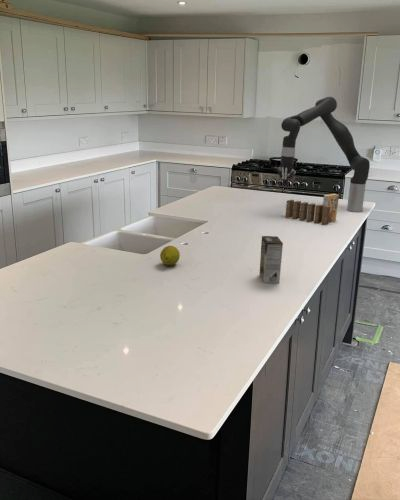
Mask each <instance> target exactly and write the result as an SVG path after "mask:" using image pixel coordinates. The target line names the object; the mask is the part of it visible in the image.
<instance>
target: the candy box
mask: <svg viewBox="0 0 400 500" xmlns="http://www.w3.org/2000/svg"><path fill="white" fill-rule="evenodd" d="M339 198H340V195H339V194H336V193H330V194H329V193H328V194H324V195H323V201H322V205H323V207H325V206H331V207H330V216H329V223H331V222H336V221H337V214H338V207H339ZM322 215H323V210H322ZM321 223H322V220H321Z"/></svg>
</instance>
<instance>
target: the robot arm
mask: <svg viewBox="0 0 400 500" xmlns="http://www.w3.org/2000/svg"><path fill="white" fill-rule="evenodd" d="M337 108H338V103H337V99H335V98H334V97H333V96H326V97H324V98H322V99H319V100H316V102H315V105H314V106H313V107H310V108H307V109H306V110H304V111H301V112H299V113H298V114H295V115H291V116H289V117H286V118H284V119H283V120H282V121H281V124H280V125H281V129H282V130H283V131H284V132H288V133H289V134H288V135H285V136H284V137H283V139H282V147H281V152H280V153H281V154H280V165H279V167H277V168H276V172H277V174H278V175H279V176H278V177H279V178H280V179H281V180H282V183H281V185H282V187H287V186H288V185H289V183H288V182H289V180H290V179H292V178H293V177H294V176H295V175H296V173H297V170H295V169H294V164H295V156H296V141H297V138H298V136H299V133H300V130H301V127H303V126H306V125H307V124H309V123H310V122H313V121H315V119H317V118H319V117H320V118H321V120H322V121H323V122H324V124H325V125H326V127H327V128H328V130H329V131H330V133H331V134H332V136H333V138H334V140H335V142H336V143H337V145H338V146H339V148H340V149H341V151H342V152H343V154H344V155H345V157H346V159H347V162H348V164H349V167H350V168H351V169H352V170H353V171H354V172H353V176H352V177H351V178H350V182H349V187H348V198H347V205H346V210H347V211H348V212H352V213H353V212H354V213H360V212H361V213H362V212H363V208H364V207H363V206H364V201H365V200H364V199H365V191H366V184H367V180H368V179H369V175H370V174H369V172H370V160H369V159H368V158H367V157H364V156H362V155H360V153H359V152H358V150H357V148H356V146H355V141H354V138H353V134H352V133H351V131H350V130H349V128H348V127H347V125H345V124H344V123H342V122H341V121H339V120H338V119H336V118H335V117H334V116H333V114H332V113H333V112H334V111H335V110H336V109H337Z"/></svg>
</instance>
